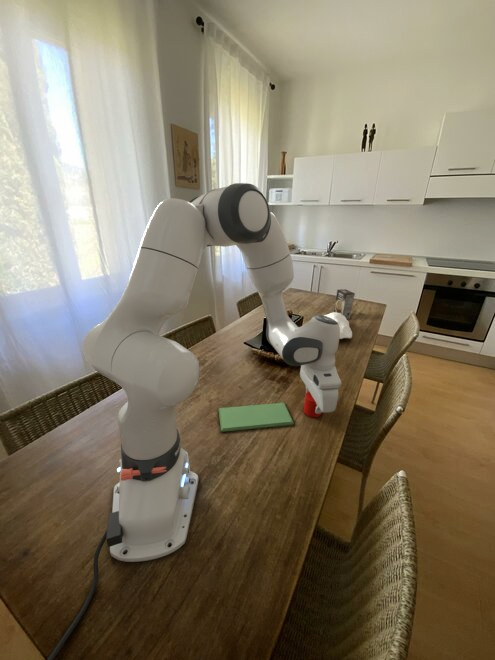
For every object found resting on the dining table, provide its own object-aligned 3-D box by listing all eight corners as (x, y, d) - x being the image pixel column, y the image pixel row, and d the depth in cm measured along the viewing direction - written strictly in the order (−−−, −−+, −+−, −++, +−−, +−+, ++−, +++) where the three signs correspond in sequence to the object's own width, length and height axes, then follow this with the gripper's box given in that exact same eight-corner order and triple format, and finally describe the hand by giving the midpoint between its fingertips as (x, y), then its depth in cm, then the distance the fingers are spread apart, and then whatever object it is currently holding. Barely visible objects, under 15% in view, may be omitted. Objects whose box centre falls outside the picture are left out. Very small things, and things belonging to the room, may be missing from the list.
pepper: (324, 416, 89) (327, 397, 86) (307, 418, 88) (310, 399, 85) (317, 405, 94) (320, 387, 91) (301, 406, 93) (303, 388, 90)
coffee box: (332, 314, 177) (336, 289, 171) (341, 313, 179) (345, 288, 173) (341, 319, 169) (345, 293, 163) (350, 318, 171) (355, 292, 165)
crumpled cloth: (298, 338, 139) (303, 321, 135) (314, 316, 168) (318, 302, 164) (346, 354, 132) (352, 338, 128) (353, 328, 161) (359, 314, 157)
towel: (293, 424, 85) (293, 422, 84) (221, 432, 81) (221, 429, 81) (284, 403, 94) (284, 401, 94) (218, 409, 90) (218, 407, 90)
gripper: (297, 352, 93) (293, 386, 98) (322, 387, 75) (316, 428, 80) (315, 351, 94) (310, 385, 99) (344, 386, 76) (336, 426, 81)
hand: (313, 405), depth 90 cm, fingers closed on pepper, 5 cm apart
